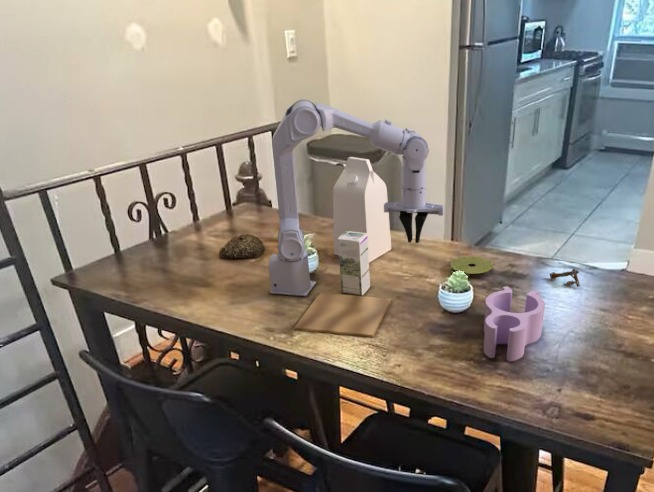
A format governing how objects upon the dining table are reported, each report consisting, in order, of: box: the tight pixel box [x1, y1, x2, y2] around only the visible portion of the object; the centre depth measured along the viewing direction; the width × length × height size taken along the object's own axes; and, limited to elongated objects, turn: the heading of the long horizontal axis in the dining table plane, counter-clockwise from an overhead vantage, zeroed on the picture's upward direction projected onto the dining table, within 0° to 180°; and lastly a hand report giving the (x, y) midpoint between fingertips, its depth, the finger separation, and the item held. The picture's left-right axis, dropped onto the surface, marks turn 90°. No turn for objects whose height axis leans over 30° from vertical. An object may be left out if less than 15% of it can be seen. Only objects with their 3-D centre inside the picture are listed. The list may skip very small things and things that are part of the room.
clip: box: [483, 285, 546, 362], centre depth 127 cm, size 20×12×7 cm, turn 160°
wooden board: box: [293, 292, 392, 338], centre depth 139 cm, size 18×18×1 cm
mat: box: [450, 256, 494, 275], centre depth 158 cm, size 11×11×2 cm
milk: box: [332, 156, 392, 263], centre depth 164 cm, size 12×12×26 cm
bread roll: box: [218, 233, 265, 259], centre depth 171 cm, size 13×12×5 cm
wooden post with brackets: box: [549, 268, 581, 288], centre depth 151 cm, size 2×8×4 cm, turn 44°
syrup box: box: [338, 231, 371, 296], centre depth 146 cm, size 6×6×14 cm
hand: (413, 241), depth 149 cm, fingers closed
